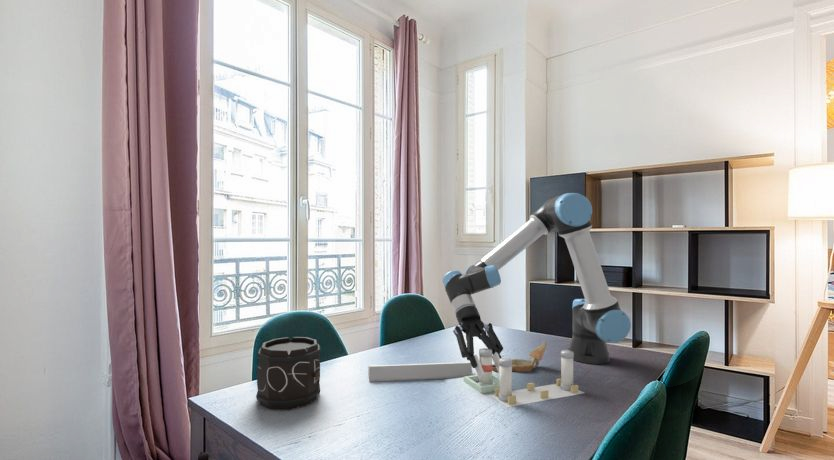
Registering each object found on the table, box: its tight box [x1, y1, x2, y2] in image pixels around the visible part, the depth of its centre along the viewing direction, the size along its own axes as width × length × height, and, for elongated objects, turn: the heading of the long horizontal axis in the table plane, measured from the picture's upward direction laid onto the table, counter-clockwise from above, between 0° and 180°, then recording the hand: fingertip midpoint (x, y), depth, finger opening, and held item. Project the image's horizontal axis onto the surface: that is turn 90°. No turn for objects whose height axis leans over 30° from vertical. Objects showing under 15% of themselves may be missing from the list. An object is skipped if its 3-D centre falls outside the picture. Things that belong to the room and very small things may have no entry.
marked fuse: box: [478, 347, 494, 386], centre depth 123 cm, size 4×4×11 cm
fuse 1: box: [498, 357, 513, 402], centre depth 112 cm, size 4×4×11 cm
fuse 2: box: [560, 349, 575, 391], centre depth 121 cm, size 4×4×11 cm
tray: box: [463, 373, 499, 394], centre depth 123 cm, size 10×10×3 cm
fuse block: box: [489, 377, 585, 408], centre depth 116 cm, size 27×9×4 cm, turn 113°
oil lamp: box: [492, 341, 547, 373], centre depth 139 cm, size 9×21×10 cm, turn 105°
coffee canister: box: [255, 336, 322, 411], centre depth 115 cm, size 18×18×16 cm
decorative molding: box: [367, 361, 473, 382], centre depth 137 cm, size 34×5×10 cm
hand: (492, 375), depth 120 cm, fingers open, 7 cm apart
